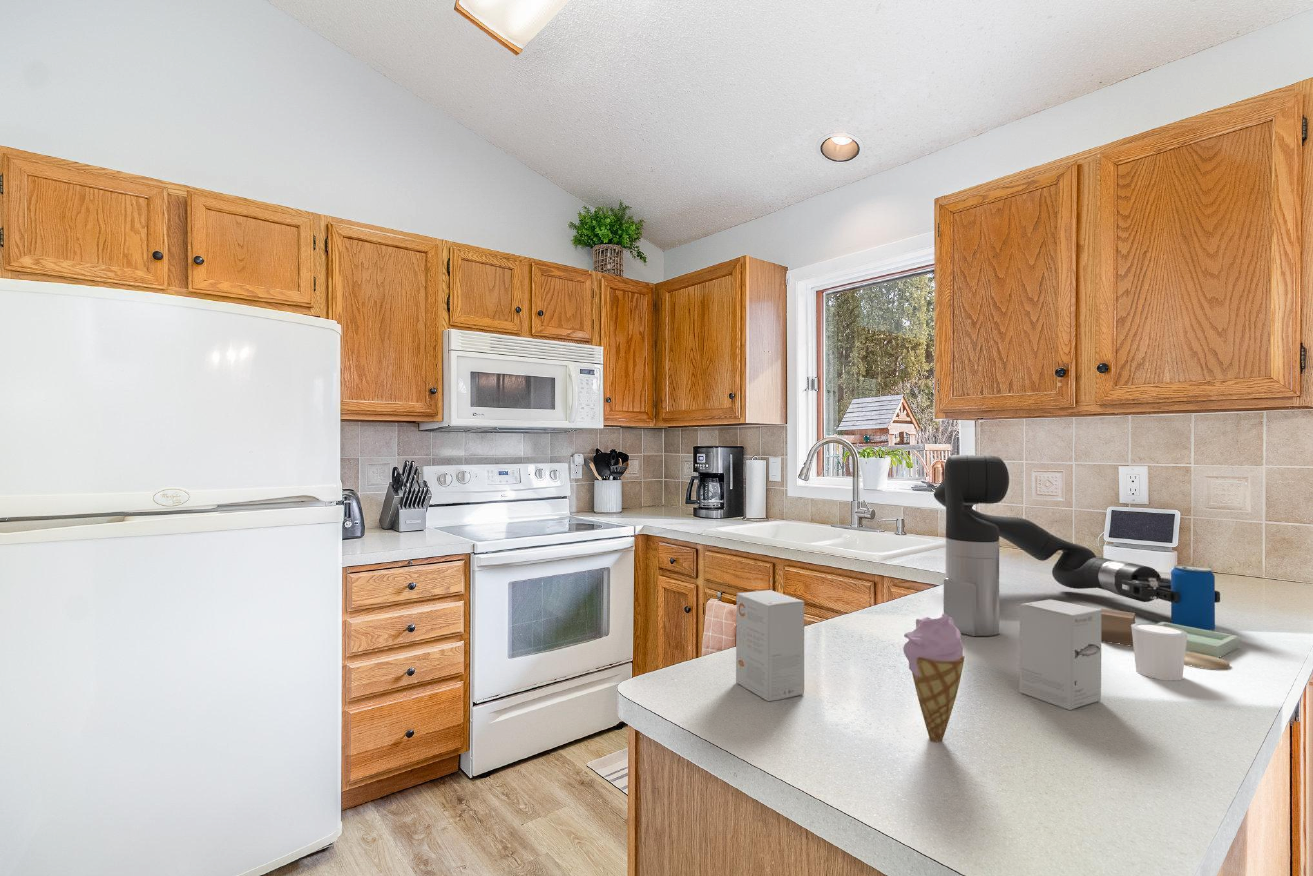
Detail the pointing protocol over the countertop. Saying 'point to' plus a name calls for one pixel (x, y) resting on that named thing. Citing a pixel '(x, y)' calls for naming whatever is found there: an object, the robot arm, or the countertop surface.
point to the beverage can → (1193, 597)
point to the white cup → (1159, 651)
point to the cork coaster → (1205, 661)
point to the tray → (1207, 640)
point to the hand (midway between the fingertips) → (1197, 597)
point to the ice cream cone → (935, 670)
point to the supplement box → (1060, 653)
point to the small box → (770, 644)
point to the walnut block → (1117, 626)
